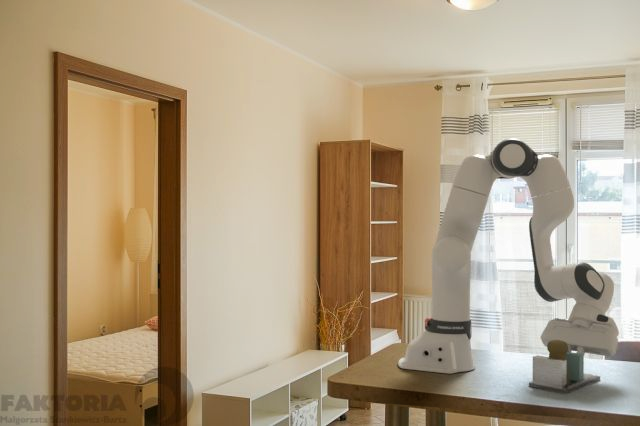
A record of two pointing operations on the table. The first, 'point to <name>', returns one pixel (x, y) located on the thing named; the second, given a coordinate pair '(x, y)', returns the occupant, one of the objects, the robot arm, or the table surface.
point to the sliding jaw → (575, 366)
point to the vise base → (556, 376)
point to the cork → (558, 352)
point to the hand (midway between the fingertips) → (569, 361)
